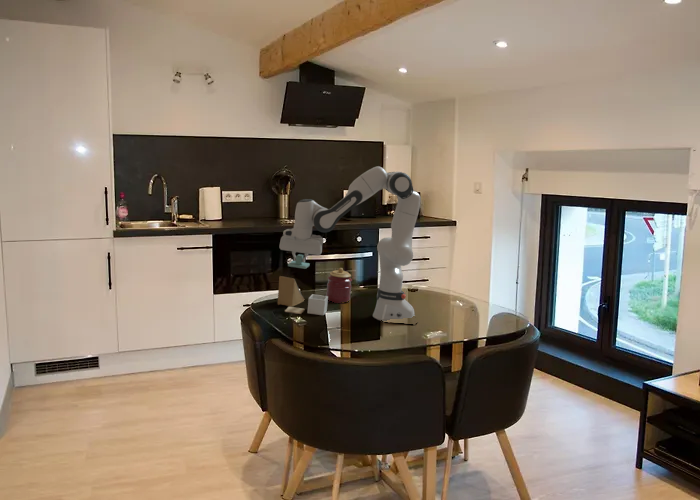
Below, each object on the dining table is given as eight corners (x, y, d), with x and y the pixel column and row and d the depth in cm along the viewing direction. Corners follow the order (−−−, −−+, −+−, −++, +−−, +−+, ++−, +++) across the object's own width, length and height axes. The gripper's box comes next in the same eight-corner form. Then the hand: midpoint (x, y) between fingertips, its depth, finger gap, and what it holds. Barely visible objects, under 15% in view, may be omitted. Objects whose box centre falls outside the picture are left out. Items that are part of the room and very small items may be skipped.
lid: (309, 265, 307) (310, 255, 306) (305, 268, 298) (306, 258, 297) (292, 262, 308) (293, 252, 307) (287, 266, 299) (289, 255, 298)
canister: (349, 304, 329) (353, 271, 326) (324, 302, 329) (328, 269, 326) (350, 298, 342) (353, 266, 338) (326, 295, 342) (329, 263, 338)
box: (326, 312, 312) (328, 296, 311) (323, 316, 304) (325, 300, 303) (310, 309, 313) (312, 294, 312) (307, 314, 305) (308, 298, 304)
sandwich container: (306, 301, 327) (308, 273, 324) (292, 308, 313) (294, 278, 310) (291, 298, 330) (293, 270, 327) (276, 304, 316) (279, 275, 313)
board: (304, 310, 311) (304, 308, 310) (300, 315, 303) (300, 313, 303) (288, 308, 312) (288, 306, 311) (284, 312, 304) (284, 310, 304)
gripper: (325, 235, 302) (321, 263, 304) (283, 229, 304) (280, 257, 307) (322, 237, 296) (319, 266, 298) (280, 230, 298) (277, 259, 301)
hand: (299, 261), depth 303 cm, fingers closed on lid, 2 cm apart
